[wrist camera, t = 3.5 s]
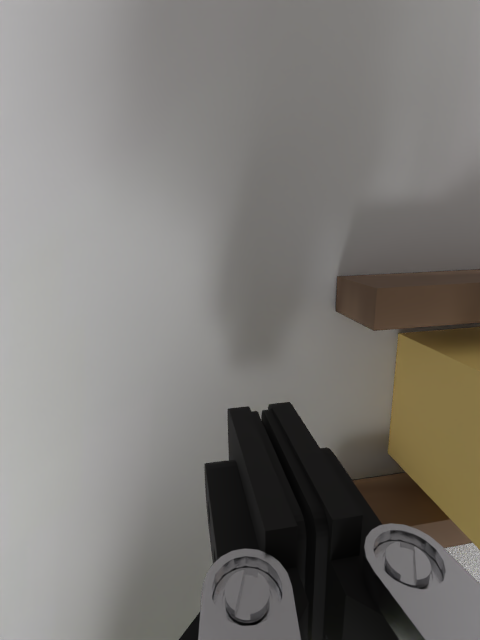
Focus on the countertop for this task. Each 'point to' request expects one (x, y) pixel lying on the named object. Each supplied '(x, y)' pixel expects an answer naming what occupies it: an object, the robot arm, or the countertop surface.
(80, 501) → the countertop surface
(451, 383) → the ochre block
